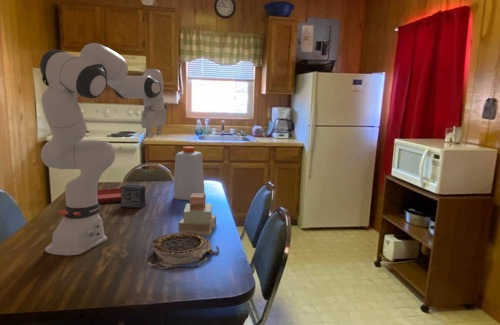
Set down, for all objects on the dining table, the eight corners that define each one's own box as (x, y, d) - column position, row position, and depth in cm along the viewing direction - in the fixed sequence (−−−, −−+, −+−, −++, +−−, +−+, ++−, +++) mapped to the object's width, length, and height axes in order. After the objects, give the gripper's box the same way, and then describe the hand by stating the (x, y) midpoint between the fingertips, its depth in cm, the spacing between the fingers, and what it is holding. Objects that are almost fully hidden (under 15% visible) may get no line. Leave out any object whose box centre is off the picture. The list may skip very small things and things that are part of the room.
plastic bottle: (182, 192, 211) (182, 144, 206) (206, 194, 207) (207, 146, 202) (170, 199, 197) (169, 148, 191) (196, 202, 193) (196, 150, 187)
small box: (146, 204, 186) (145, 185, 184) (141, 208, 180) (140, 188, 178) (126, 203, 187) (125, 184, 185) (120, 207, 181) (119, 187, 179)
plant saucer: (92, 195, 201) (92, 189, 200) (126, 193, 208) (126, 187, 207) (92, 205, 184) (92, 199, 184) (129, 202, 191) (129, 196, 191)
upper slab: (210, 223, 150) (210, 211, 149) (183, 223, 149) (183, 211, 148) (211, 214, 161) (211, 203, 160) (186, 214, 160) (186, 203, 159)
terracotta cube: (203, 209, 151) (203, 197, 150) (190, 209, 152) (189, 196, 150) (205, 205, 157) (205, 193, 156) (192, 205, 157) (192, 193, 156)
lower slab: (209, 236, 149) (209, 225, 148) (178, 234, 150) (178, 223, 149) (216, 225, 162) (216, 214, 161) (187, 223, 163) (187, 212, 162)
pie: (132, 270, 120) (132, 256, 119) (150, 238, 147) (150, 226, 146) (217, 270, 121) (217, 256, 120) (220, 238, 148) (220, 227, 147)
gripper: (151, 107, 154) (151, 139, 157) (168, 105, 174) (169, 134, 177) (137, 106, 155) (138, 138, 158) (156, 104, 175) (156, 133, 178)
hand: (154, 136), depth 168 cm, fingers open, 8 cm apart
